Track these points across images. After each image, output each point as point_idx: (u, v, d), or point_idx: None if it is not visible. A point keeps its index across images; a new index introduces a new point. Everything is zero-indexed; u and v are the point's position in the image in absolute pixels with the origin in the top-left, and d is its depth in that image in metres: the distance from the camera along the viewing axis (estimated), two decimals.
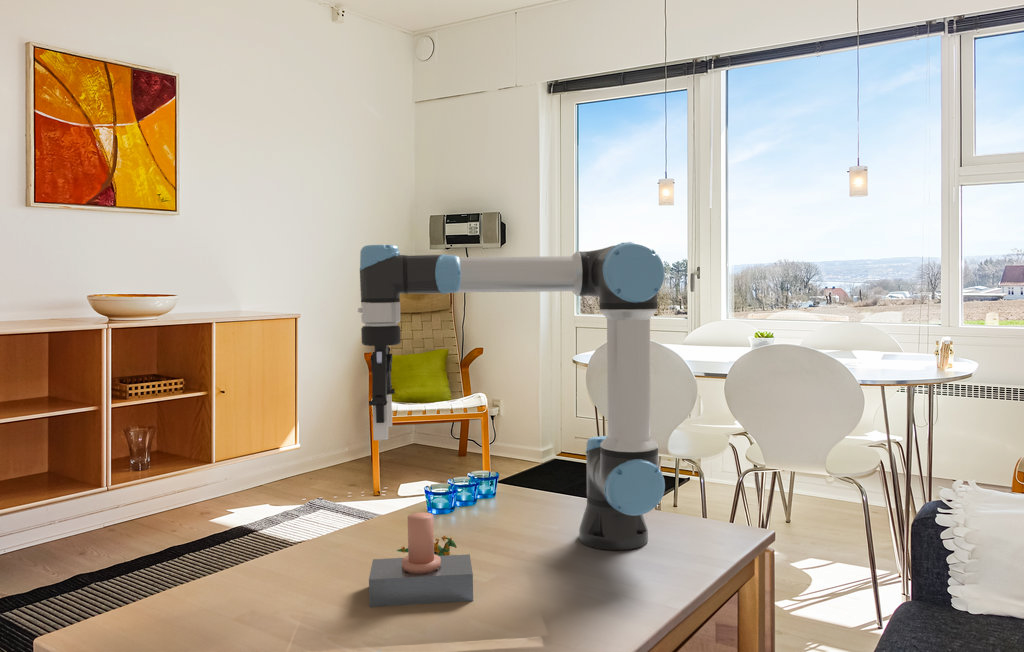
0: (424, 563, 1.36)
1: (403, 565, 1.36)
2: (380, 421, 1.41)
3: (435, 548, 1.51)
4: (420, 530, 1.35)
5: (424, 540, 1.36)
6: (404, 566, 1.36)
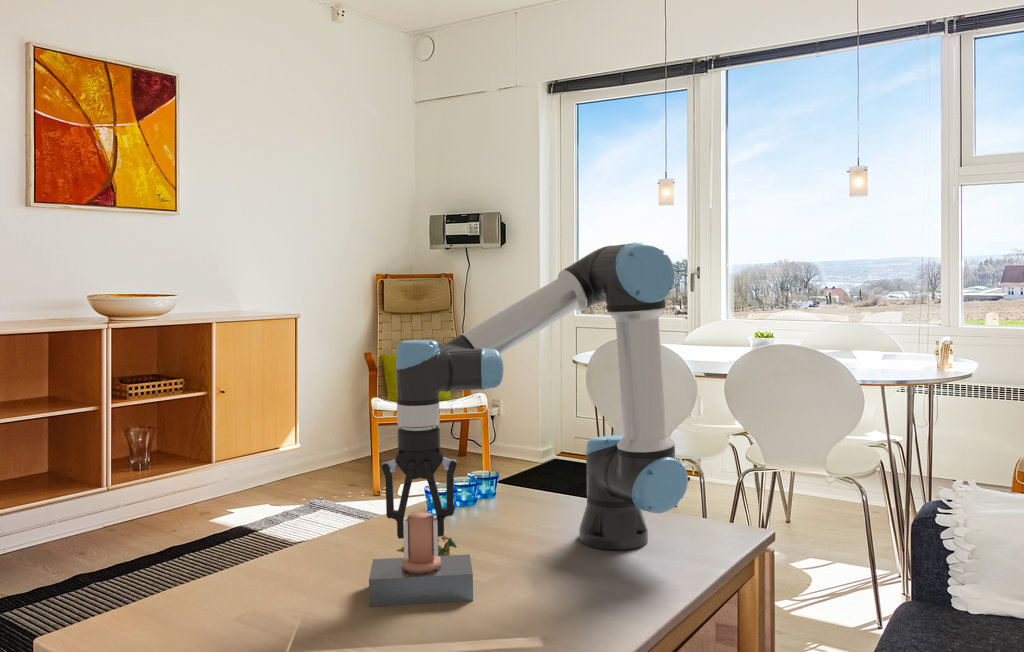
0: (424, 563, 1.36)
1: (403, 565, 1.36)
2: (397, 535, 1.37)
3: None
4: (420, 530, 1.35)
5: (424, 540, 1.36)
6: (404, 566, 1.36)
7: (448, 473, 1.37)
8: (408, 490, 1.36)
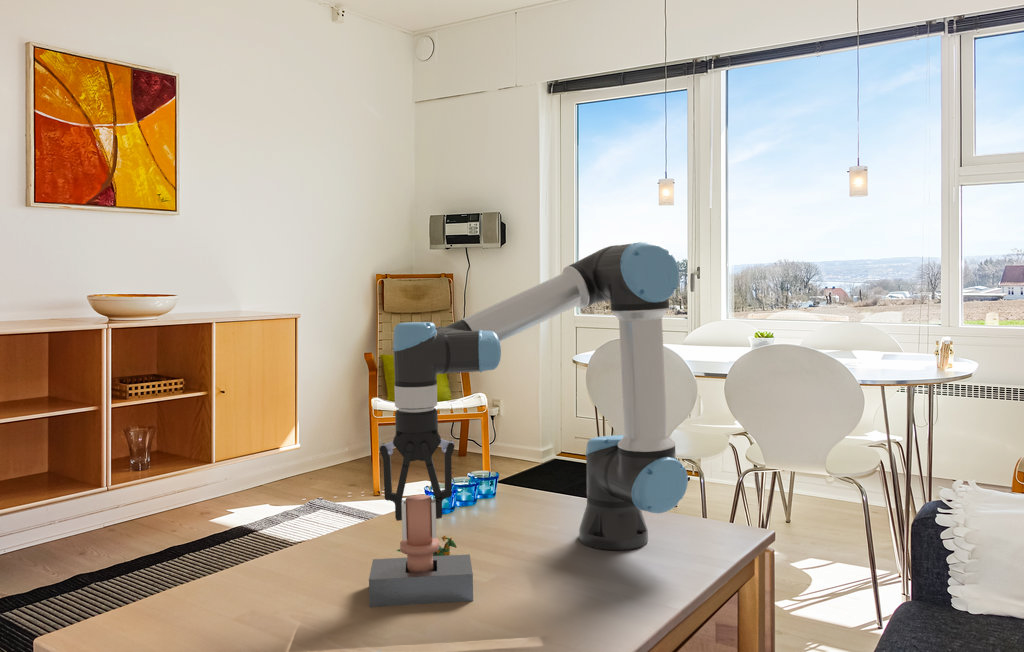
0: (422, 545, 1.36)
1: (401, 547, 1.36)
2: (396, 518, 1.37)
3: None
4: (418, 512, 1.35)
5: (422, 522, 1.36)
6: (402, 548, 1.36)
7: (446, 455, 1.36)
8: (406, 472, 1.36)
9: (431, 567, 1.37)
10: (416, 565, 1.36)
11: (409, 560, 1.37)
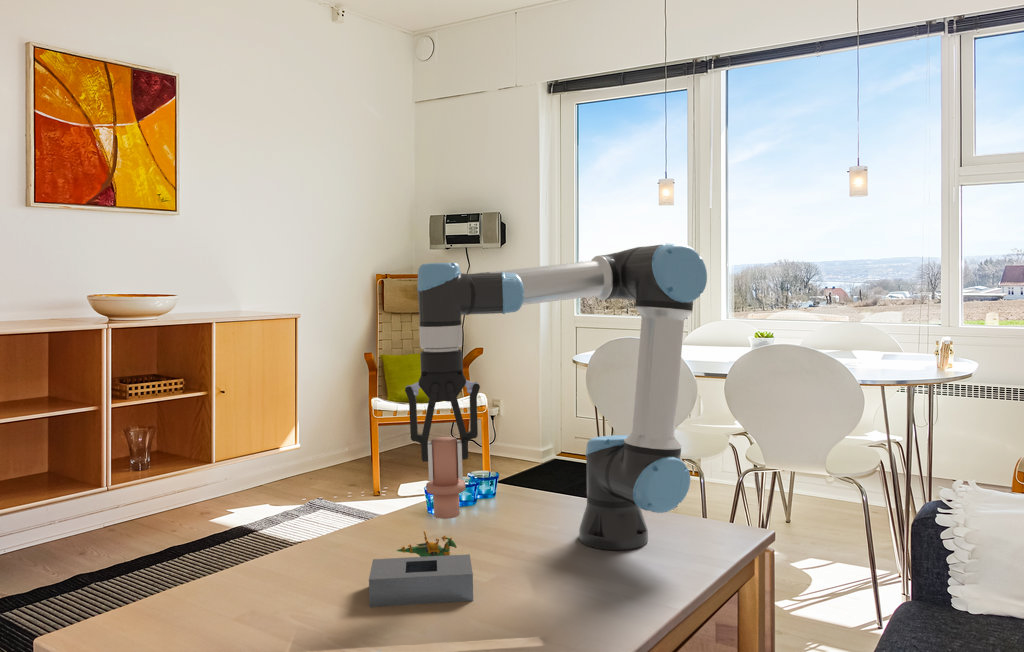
0: (449, 485, 1.36)
1: (428, 488, 1.36)
2: (422, 459, 1.37)
3: (435, 548, 1.51)
4: (444, 452, 1.35)
5: (448, 462, 1.36)
6: (429, 489, 1.36)
7: (471, 395, 1.36)
8: (432, 413, 1.36)
9: (457, 508, 1.37)
10: (443, 506, 1.36)
11: (435, 501, 1.37)
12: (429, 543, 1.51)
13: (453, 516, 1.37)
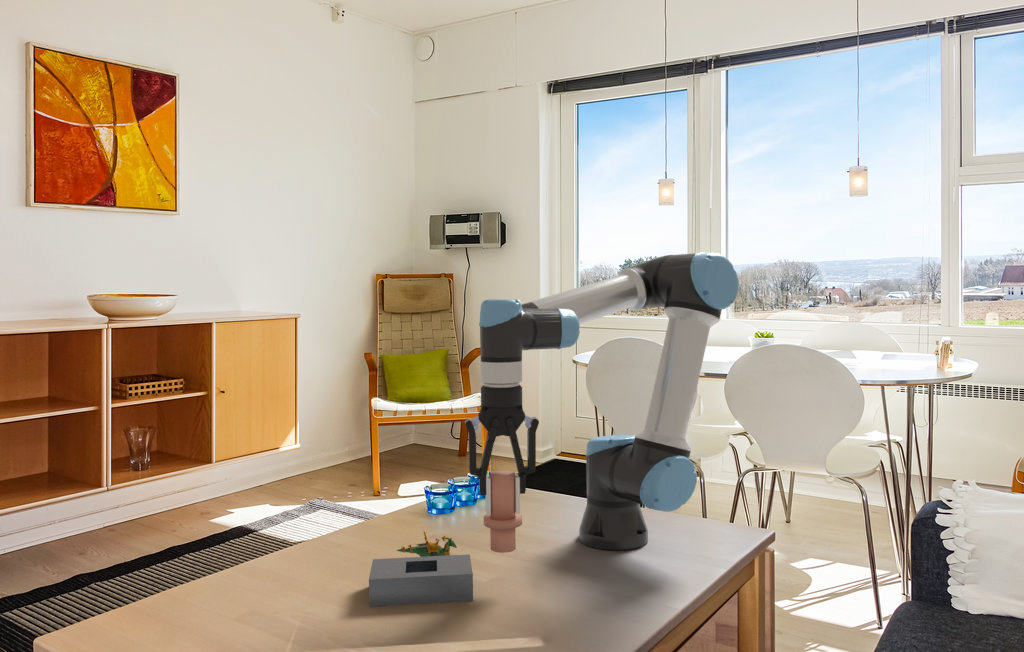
0: (507, 519, 1.37)
1: (486, 521, 1.37)
2: (480, 492, 1.38)
3: (435, 548, 1.51)
4: (503, 487, 1.37)
5: (507, 496, 1.37)
6: (487, 522, 1.37)
7: (530, 431, 1.38)
8: (491, 447, 1.37)
9: (514, 542, 1.39)
10: (500, 540, 1.37)
11: (493, 534, 1.38)
12: (429, 543, 1.52)
13: (510, 550, 1.38)
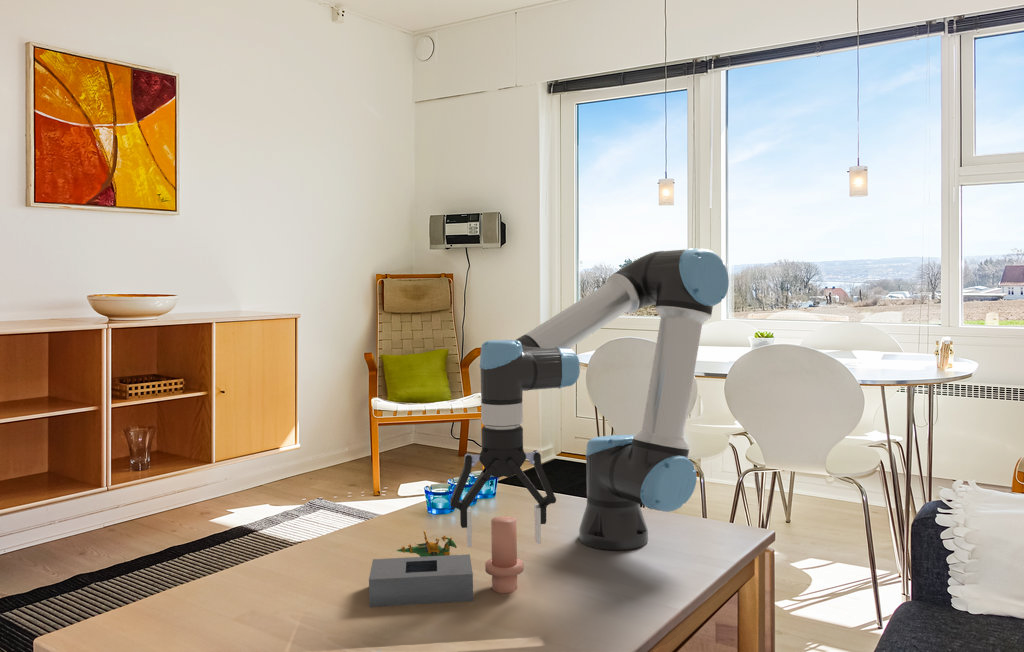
0: (508, 566, 1.38)
1: (487, 568, 1.38)
2: (461, 525, 1.38)
3: (435, 548, 1.51)
4: (505, 534, 1.37)
5: (508, 543, 1.37)
6: (489, 569, 1.38)
7: (536, 466, 1.38)
8: (482, 485, 1.37)
9: (516, 588, 1.39)
10: (502, 587, 1.38)
11: (495, 581, 1.38)
12: (429, 543, 1.52)
13: None
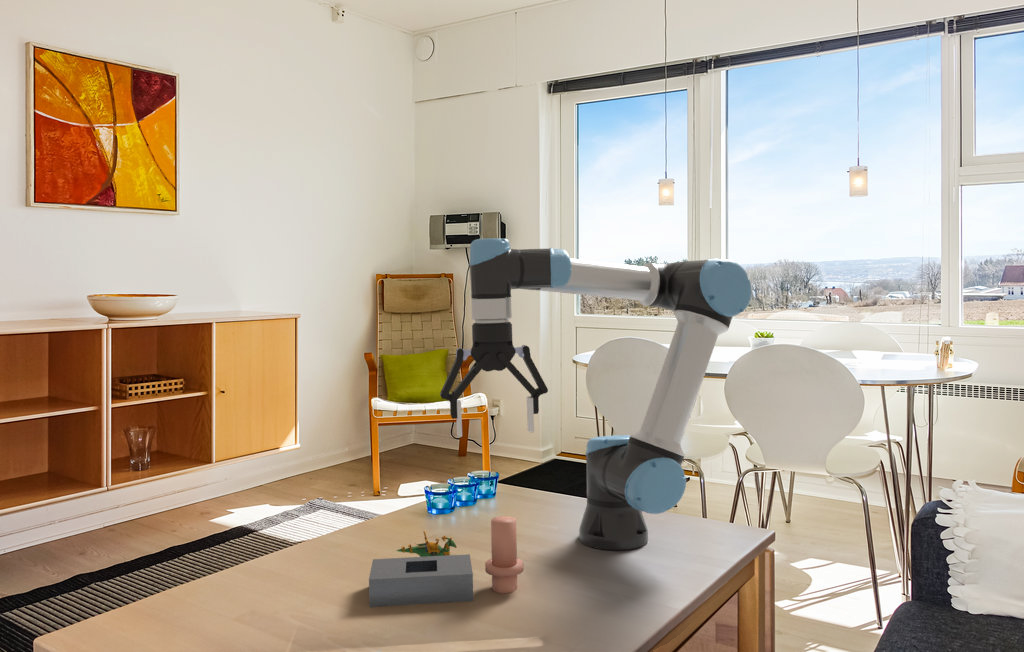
0: (508, 566, 1.38)
1: (487, 568, 1.38)
2: (451, 416, 1.43)
3: (435, 548, 1.51)
4: (505, 534, 1.37)
5: (508, 543, 1.37)
6: (489, 570, 1.38)
7: (526, 358, 1.44)
8: (472, 377, 1.42)
9: (516, 588, 1.39)
10: (502, 587, 1.38)
11: (495, 581, 1.38)
12: (429, 543, 1.52)
13: None
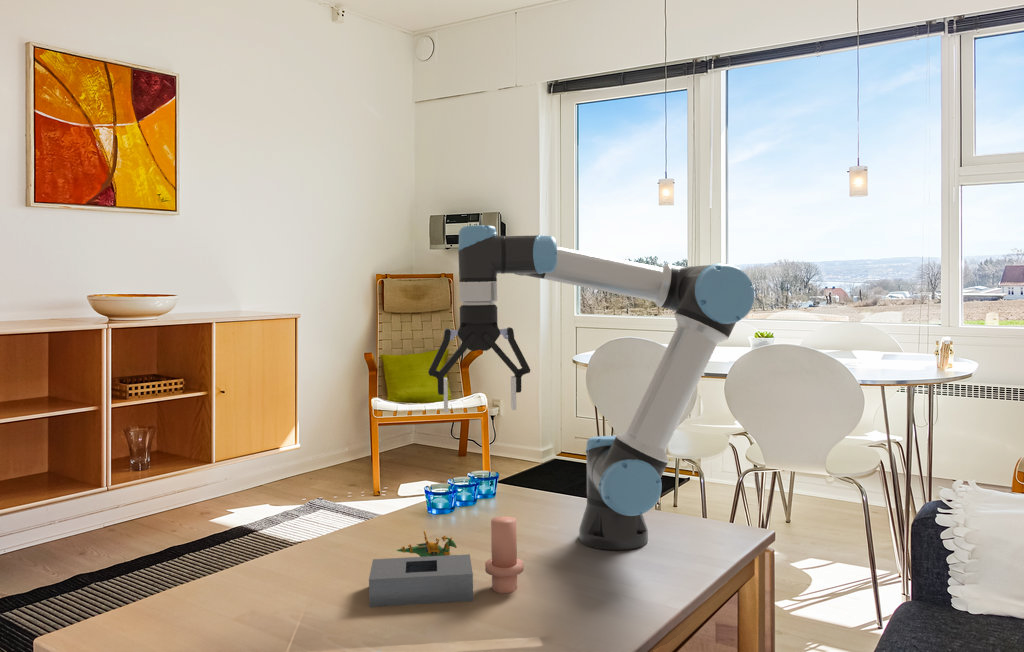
0: (508, 566, 1.37)
1: (487, 568, 1.38)
2: (438, 393, 1.52)
3: (435, 548, 1.51)
4: (505, 534, 1.37)
5: (508, 544, 1.37)
6: (489, 570, 1.38)
7: (510, 339, 1.52)
8: (458, 356, 1.51)
9: (516, 588, 1.39)
10: (502, 587, 1.38)
11: (495, 581, 1.38)
12: (429, 543, 1.52)
13: None
